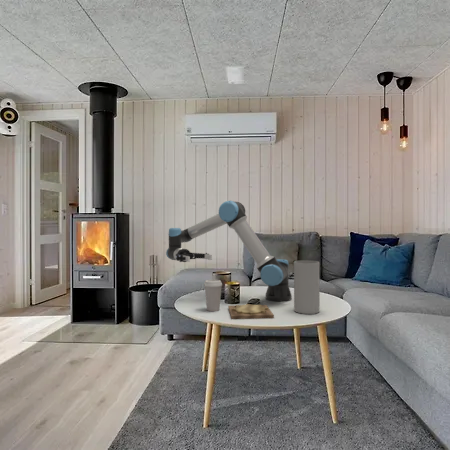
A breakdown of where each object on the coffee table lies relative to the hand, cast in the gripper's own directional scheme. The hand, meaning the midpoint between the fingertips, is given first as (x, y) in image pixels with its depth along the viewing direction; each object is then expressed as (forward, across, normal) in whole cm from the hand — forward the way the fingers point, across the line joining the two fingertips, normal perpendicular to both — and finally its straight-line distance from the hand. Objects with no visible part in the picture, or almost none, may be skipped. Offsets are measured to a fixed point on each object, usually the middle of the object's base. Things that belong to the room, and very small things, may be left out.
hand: (200, 258), depth 195 cm
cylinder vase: (+40, -39, -26) cm, 61 cm away
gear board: (+26, -13, -26) cm, 39 cm away
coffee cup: (+10, -2, -26) cm, 28 cm away
